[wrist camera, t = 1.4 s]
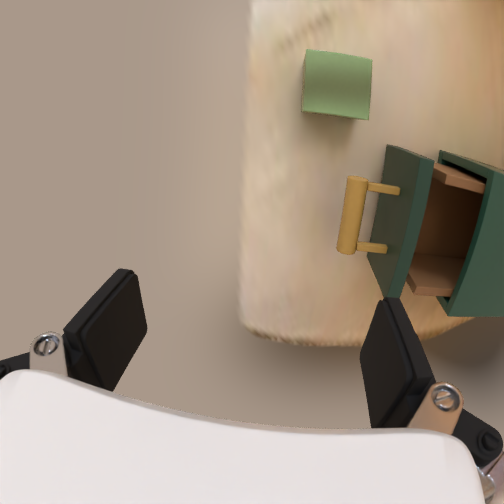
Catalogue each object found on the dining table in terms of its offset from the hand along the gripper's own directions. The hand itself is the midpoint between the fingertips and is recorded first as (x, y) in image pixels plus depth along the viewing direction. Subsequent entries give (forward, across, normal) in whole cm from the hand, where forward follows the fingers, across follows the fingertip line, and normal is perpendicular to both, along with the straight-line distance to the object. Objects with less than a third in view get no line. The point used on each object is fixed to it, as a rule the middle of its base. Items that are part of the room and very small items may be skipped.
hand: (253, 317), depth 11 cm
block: (+19, -4, -10) cm, 22 cm away
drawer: (+18, -14, 0) cm, 23 cm away
